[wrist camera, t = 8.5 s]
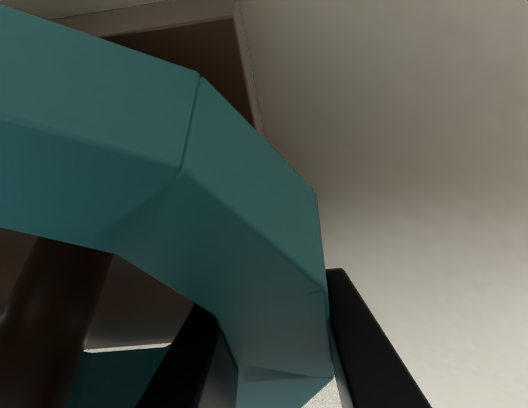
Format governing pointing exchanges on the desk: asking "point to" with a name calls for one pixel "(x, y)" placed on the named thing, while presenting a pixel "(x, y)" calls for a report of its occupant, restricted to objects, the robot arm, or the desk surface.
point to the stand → (100, 262)
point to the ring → (164, 205)
